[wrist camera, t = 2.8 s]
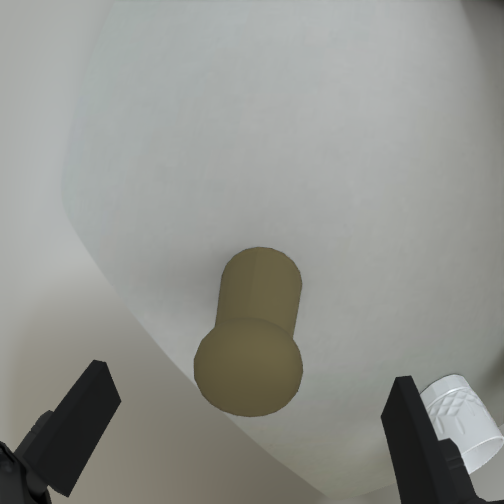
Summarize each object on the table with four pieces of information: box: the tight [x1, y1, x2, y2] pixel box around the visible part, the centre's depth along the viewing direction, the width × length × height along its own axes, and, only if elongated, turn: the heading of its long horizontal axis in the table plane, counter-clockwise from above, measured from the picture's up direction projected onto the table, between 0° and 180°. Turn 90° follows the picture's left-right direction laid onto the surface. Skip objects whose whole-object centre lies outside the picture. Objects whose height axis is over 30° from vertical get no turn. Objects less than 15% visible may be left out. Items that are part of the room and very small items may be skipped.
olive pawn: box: [194, 247, 303, 417], centre depth 17 cm, size 6×6×11 cm
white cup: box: [420, 374, 504, 474], centre depth 20 cm, size 8×8×10 cm
